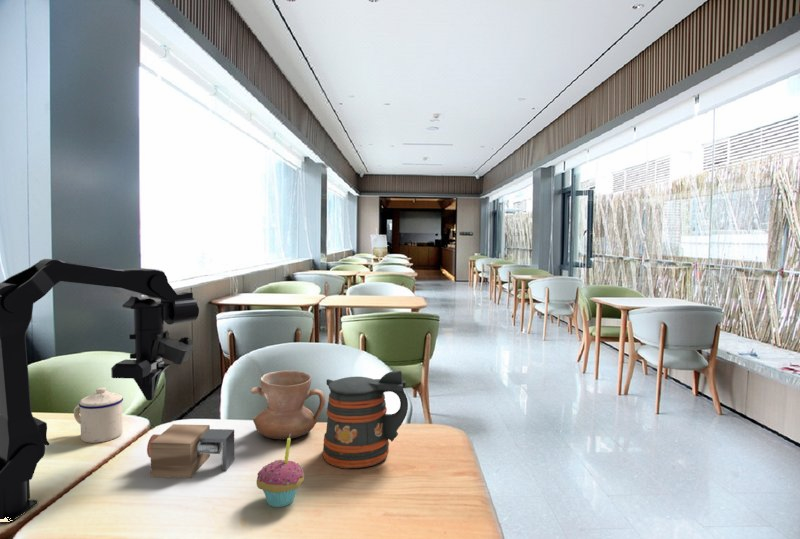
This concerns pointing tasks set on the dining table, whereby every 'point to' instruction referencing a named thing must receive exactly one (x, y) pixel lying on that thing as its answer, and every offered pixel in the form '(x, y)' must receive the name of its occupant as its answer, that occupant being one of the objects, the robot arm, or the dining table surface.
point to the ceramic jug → (286, 405)
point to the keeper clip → (227, 444)
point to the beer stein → (362, 420)
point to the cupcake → (280, 480)
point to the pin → (201, 447)
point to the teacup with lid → (100, 416)
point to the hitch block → (177, 451)
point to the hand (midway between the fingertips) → (150, 399)
